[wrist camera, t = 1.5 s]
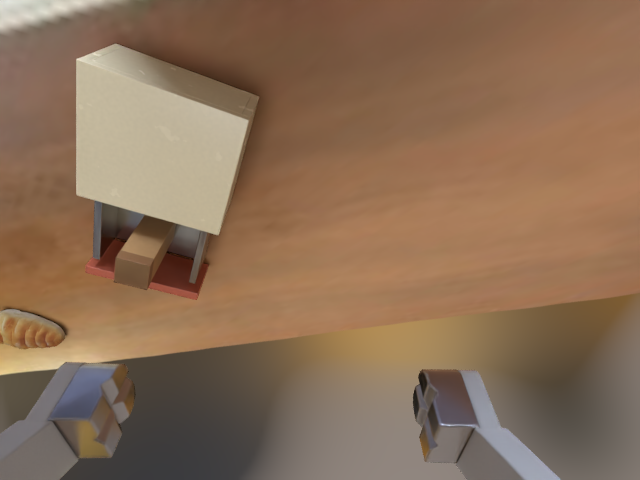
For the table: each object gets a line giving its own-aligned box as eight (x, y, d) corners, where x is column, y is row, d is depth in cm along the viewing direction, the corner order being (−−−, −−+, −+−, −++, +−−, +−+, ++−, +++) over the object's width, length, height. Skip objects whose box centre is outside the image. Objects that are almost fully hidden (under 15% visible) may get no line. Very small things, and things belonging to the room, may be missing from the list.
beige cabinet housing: (231, 200, 48) (218, 235, 42) (108, 163, 45) (75, 195, 39) (259, 96, 41) (249, 120, 34) (115, 43, 38) (75, 58, 31)
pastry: (66, 317, 60) (53, 337, 57) (68, 344, 64) (56, 363, 61) (0, 304, 59) (-17, 324, 56) (7, 332, 62) (-9, 351, 59)
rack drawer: (205, 276, 54) (195, 306, 50) (106, 250, 52) (85, 279, 47) (226, 197, 47) (216, 223, 42) (111, 162, 44) (86, 186, 39)
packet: (148, 208, 46) (115, 257, 39) (177, 216, 47) (150, 266, 39) (145, 231, 48) (113, 282, 41) (173, 238, 49) (146, 290, 41)
